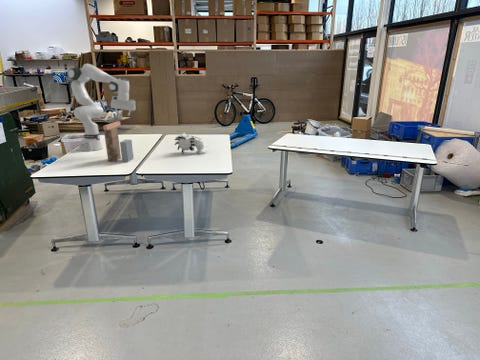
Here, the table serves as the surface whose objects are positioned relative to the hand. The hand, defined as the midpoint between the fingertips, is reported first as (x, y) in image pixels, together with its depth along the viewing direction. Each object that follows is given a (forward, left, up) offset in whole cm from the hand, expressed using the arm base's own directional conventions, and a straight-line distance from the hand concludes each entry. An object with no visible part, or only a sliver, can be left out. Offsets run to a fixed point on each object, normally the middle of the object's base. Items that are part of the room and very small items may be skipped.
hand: (122, 114), depth 286 cm
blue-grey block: (+13, -26, -33) cm, 44 cm away
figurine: (+58, +5, -33) cm, 67 cm away
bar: (+1, -23, -7) cm, 24 cm away
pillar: (+1, -26, -33) cm, 42 cm away
